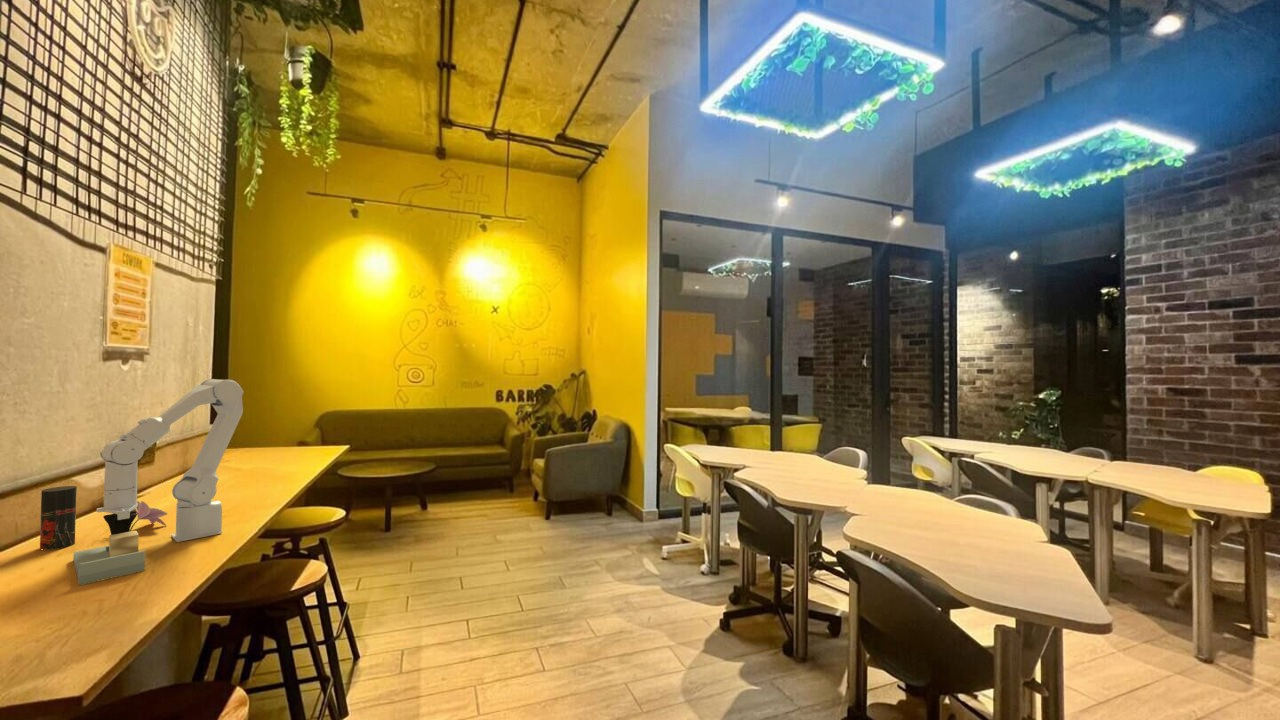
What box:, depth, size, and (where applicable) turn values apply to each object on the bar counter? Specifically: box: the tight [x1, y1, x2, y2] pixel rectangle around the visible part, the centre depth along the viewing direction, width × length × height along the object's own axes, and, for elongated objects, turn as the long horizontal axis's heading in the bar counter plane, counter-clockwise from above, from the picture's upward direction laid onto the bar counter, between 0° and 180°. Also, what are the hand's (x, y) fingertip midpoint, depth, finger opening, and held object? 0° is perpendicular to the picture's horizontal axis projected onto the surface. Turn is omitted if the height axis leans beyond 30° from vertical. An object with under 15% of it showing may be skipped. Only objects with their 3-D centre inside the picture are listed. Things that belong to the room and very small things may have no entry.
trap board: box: [73, 545, 146, 586], centre depth 116 cm, size 10×21×4 cm, turn 51°
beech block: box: [108, 530, 140, 557], centre depth 119 cm, size 4×4×4 cm
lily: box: [129, 500, 168, 532], centre depth 142 cm, size 12×12×10 cm
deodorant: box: [39, 485, 77, 551], centre depth 128 cm, size 6×6×15 cm
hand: (119, 542), depth 123 cm, fingers closed
